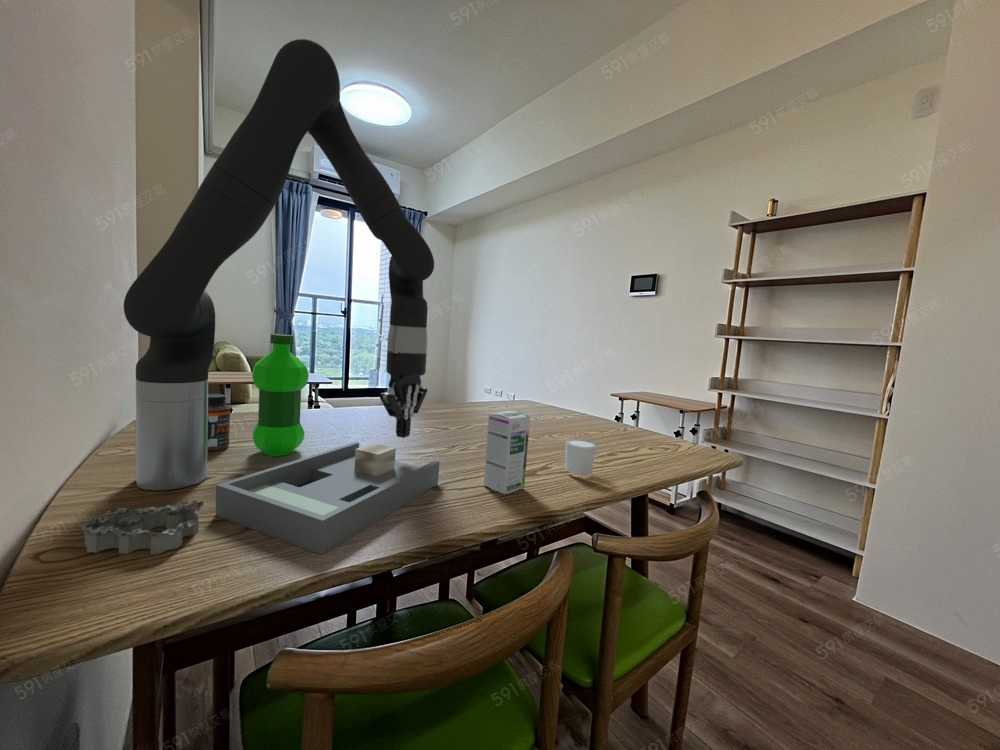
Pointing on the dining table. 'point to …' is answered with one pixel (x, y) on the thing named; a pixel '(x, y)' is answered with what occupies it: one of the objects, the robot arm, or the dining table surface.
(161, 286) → the robot arm
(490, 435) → the syrup box
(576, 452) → the white cylinder
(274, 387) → the plastic bottle
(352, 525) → the box
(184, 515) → the grey cookie cutter
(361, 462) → the block
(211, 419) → the supplement bottle
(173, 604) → the dining table surface
